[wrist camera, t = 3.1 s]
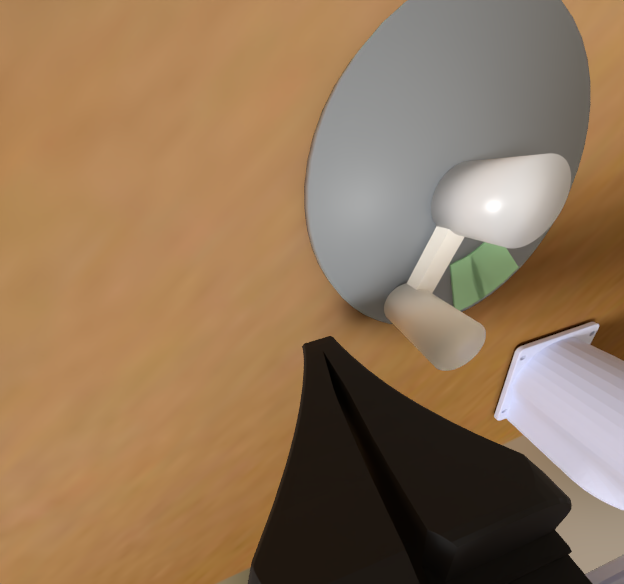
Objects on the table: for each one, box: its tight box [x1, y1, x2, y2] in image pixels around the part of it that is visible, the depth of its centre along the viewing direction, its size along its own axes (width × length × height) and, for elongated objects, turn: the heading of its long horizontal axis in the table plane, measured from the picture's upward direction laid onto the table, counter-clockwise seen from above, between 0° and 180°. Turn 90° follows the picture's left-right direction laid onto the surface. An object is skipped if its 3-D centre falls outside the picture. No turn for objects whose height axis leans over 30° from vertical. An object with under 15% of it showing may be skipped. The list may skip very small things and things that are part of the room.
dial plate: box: [304, 0, 590, 324], centre depth 11 cm, size 14×14×1 cm
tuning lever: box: [384, 153, 571, 371], centre depth 10 cm, size 8×3×4 cm, turn 161°
